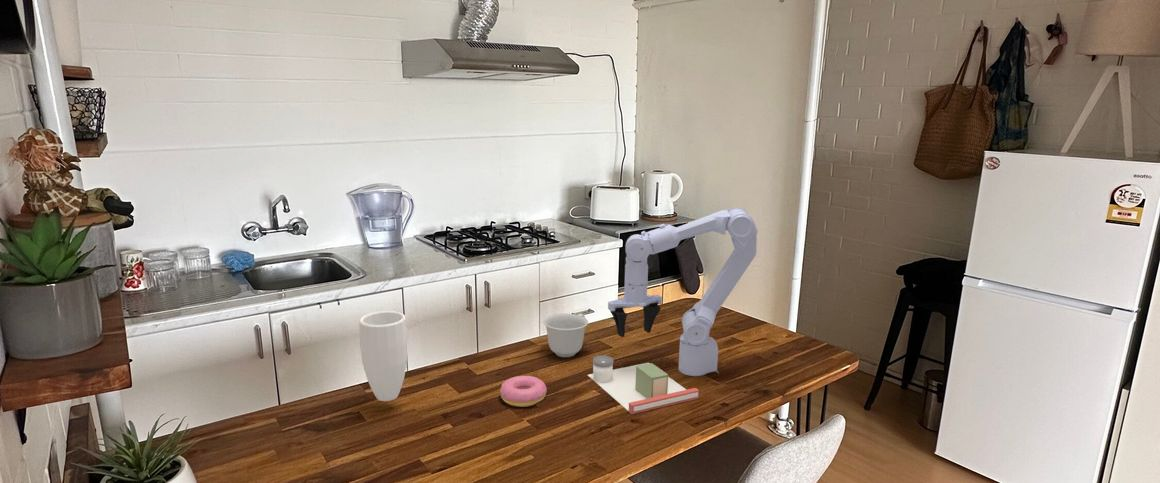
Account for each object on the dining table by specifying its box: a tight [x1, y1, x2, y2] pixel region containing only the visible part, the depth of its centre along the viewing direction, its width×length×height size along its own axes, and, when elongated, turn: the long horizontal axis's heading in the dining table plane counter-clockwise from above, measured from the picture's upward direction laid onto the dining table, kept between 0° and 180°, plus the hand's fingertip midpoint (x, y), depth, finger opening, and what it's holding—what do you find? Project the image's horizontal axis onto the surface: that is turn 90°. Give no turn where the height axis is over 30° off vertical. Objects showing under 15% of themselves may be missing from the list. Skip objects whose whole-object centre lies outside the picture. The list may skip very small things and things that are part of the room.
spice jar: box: [592, 354, 614, 383], centre depth 159 cm, size 5×5×5 cm
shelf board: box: [587, 362, 700, 415], centre depth 156 cm, size 18×22×3 cm
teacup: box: [543, 313, 589, 358], centre depth 175 cm, size 12×15×10 cm
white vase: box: [358, 310, 408, 402], centre depth 143 cm, size 10×10×22 cm
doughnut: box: [499, 375, 548, 408], centre depth 151 cm, size 11×11×4 cm
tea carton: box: [635, 362, 669, 399], centre depth 151 cm, size 7×4×6 cm, turn 26°
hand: (634, 333), depth 165 cm, fingers open, 7 cm apart
